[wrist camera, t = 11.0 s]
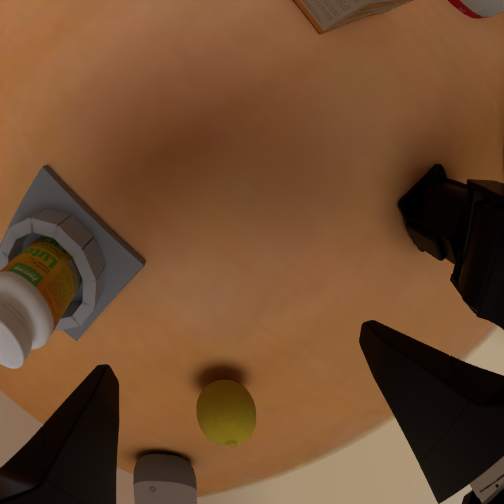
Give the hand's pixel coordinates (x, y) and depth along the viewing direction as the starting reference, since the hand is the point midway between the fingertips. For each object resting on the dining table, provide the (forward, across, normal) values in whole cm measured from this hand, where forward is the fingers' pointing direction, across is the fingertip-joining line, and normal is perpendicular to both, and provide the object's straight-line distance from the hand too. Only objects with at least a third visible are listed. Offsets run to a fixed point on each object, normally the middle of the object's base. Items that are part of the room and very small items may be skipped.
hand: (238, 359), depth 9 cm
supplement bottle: (+12, +13, 0) cm, 18 cm away
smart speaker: (+13, +14, +35) cm, 40 cm away
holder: (+13, +13, 0) cm, 19 cm away
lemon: (+13, +2, +16) cm, 21 cm away
